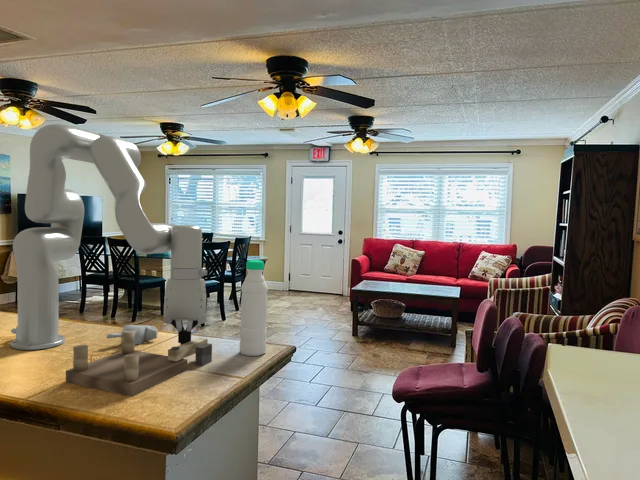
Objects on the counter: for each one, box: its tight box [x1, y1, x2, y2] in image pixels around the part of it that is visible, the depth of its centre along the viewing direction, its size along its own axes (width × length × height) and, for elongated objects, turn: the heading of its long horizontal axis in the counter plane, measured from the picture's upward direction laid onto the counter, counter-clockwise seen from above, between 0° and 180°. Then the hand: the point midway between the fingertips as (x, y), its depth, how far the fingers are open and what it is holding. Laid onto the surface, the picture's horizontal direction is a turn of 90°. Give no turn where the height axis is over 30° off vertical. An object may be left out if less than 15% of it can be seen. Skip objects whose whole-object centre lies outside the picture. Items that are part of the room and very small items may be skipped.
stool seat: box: [65, 331, 213, 397], centre depth 110 cm, size 19×26×8 cm
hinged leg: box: [167, 337, 208, 361], centre depth 115 cm, size 12×2×3 cm, turn 158°
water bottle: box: [239, 259, 269, 357], centre depth 126 cm, size 7×7×25 cm
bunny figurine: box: [105, 324, 159, 346], centre depth 133 cm, size 10×5×15 cm
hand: (184, 345), depth 120 cm, fingers closed
